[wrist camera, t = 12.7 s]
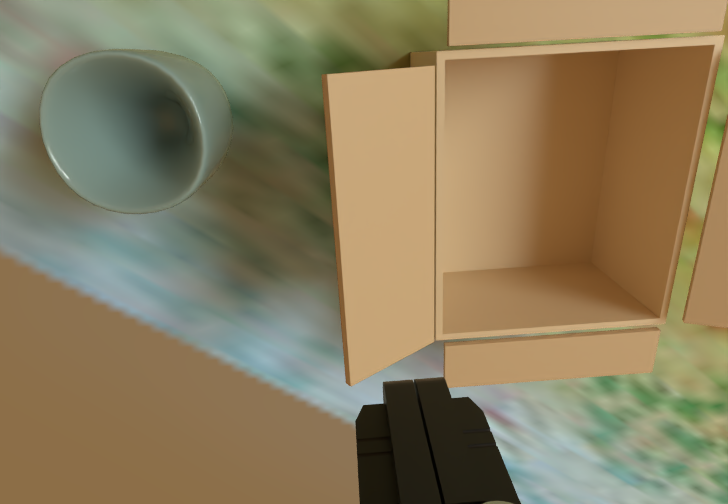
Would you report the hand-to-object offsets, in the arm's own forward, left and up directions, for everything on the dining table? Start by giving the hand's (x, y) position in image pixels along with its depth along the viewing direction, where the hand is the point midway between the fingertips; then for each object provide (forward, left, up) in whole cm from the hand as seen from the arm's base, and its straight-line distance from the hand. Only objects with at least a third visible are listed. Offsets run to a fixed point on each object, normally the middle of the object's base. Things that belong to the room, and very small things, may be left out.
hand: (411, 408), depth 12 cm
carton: (0, +11, -24) cm, 26 cm away
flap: (0, +1, -12) cm, 12 cm away
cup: (-5, -11, -24) cm, 28 cm away
